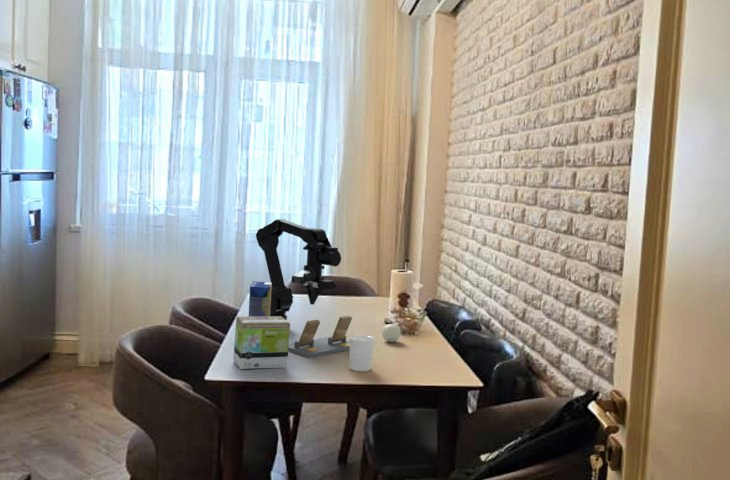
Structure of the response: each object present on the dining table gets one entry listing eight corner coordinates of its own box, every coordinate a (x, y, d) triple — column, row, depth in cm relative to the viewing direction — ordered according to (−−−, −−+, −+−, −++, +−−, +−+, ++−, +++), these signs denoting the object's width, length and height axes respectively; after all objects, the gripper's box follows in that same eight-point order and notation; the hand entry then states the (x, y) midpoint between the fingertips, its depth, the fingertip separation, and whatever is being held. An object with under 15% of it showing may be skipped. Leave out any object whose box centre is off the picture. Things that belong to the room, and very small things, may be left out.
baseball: (378, 342, 261) (379, 324, 261) (385, 338, 268) (386, 321, 267) (395, 345, 259) (397, 327, 258) (402, 341, 266) (403, 323, 265)
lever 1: (297, 345, 242) (307, 321, 238) (307, 343, 245) (317, 319, 242) (299, 347, 241) (309, 323, 237) (310, 345, 245) (320, 321, 241)
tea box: (240, 370, 215) (242, 323, 214) (233, 361, 224) (235, 315, 223) (288, 368, 221) (290, 321, 220) (278, 359, 230) (281, 314, 229)
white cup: (347, 364, 229) (349, 334, 228) (371, 365, 230) (373, 335, 229) (348, 371, 221) (350, 340, 220) (373, 372, 222) (375, 341, 221)
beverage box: (268, 344, 249) (271, 282, 247) (267, 352, 238) (270, 287, 236) (248, 343, 248) (252, 281, 246) (246, 351, 237) (250, 286, 235)
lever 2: (330, 341, 251) (339, 317, 247) (340, 339, 254) (349, 315, 251) (332, 343, 250) (342, 319, 246) (342, 341, 254) (352, 317, 250)
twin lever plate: (281, 348, 244) (281, 338, 243) (331, 339, 261) (331, 330, 261) (308, 357, 234) (309, 347, 234) (358, 347, 252) (359, 338, 251)
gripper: (281, 260, 262) (279, 302, 264) (315, 267, 249) (313, 311, 251) (303, 259, 270) (301, 299, 272) (338, 266, 258) (335, 308, 259)
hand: (312, 304), depth 263 cm, fingers closed
